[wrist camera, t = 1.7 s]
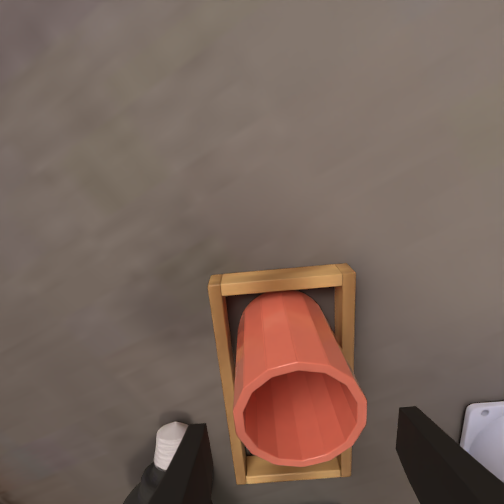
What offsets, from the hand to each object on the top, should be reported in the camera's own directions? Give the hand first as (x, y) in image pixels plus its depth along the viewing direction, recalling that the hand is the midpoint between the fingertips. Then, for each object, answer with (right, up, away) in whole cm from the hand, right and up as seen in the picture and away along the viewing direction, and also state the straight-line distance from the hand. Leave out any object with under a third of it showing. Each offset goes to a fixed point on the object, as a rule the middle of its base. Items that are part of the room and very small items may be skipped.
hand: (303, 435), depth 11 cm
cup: (0, +2, +7) cm, 7 cm away
